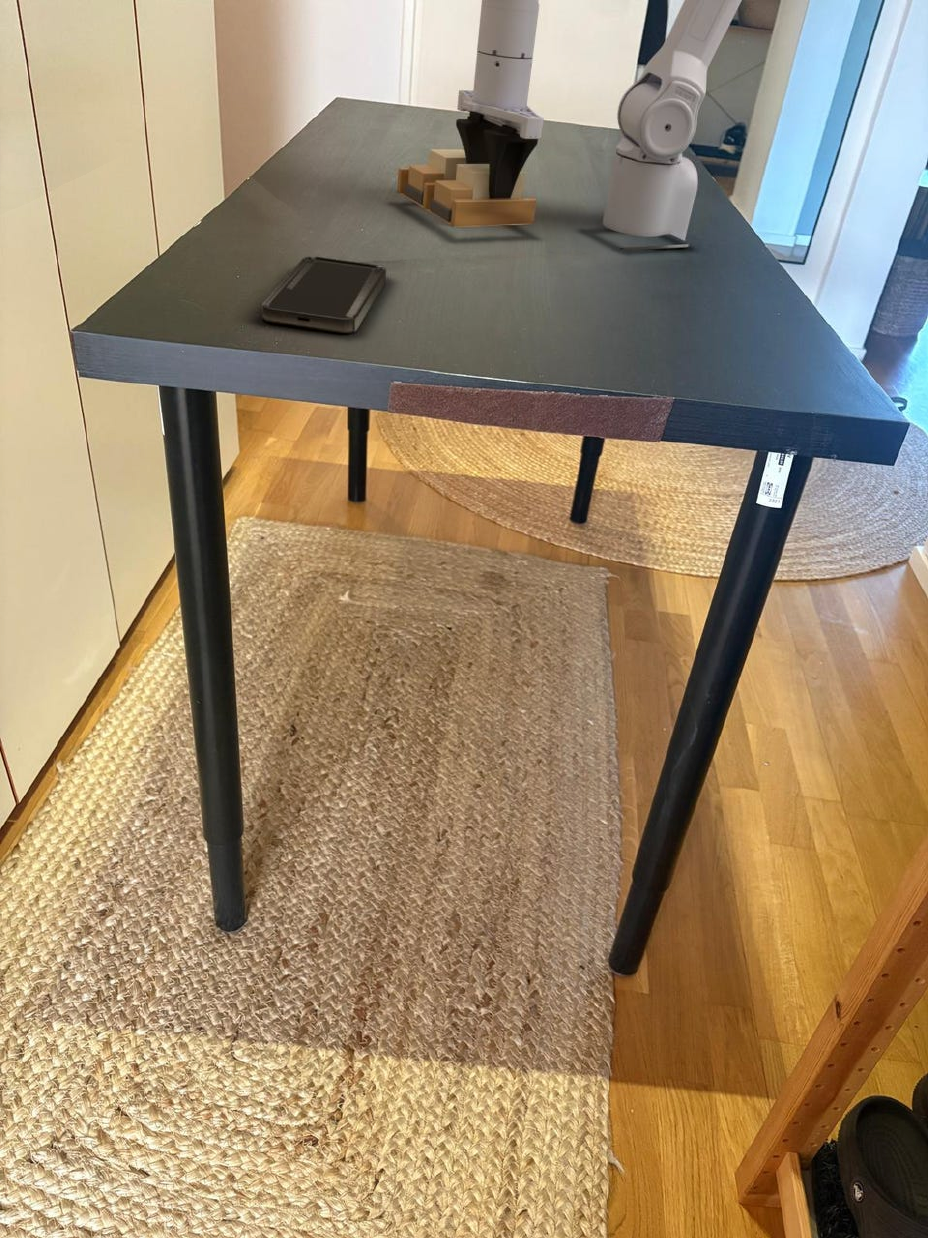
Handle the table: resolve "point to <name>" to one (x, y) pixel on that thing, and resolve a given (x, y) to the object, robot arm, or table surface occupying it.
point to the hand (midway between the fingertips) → (488, 197)
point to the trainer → (466, 188)
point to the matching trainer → (433, 171)
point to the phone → (325, 295)
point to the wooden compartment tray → (477, 207)
